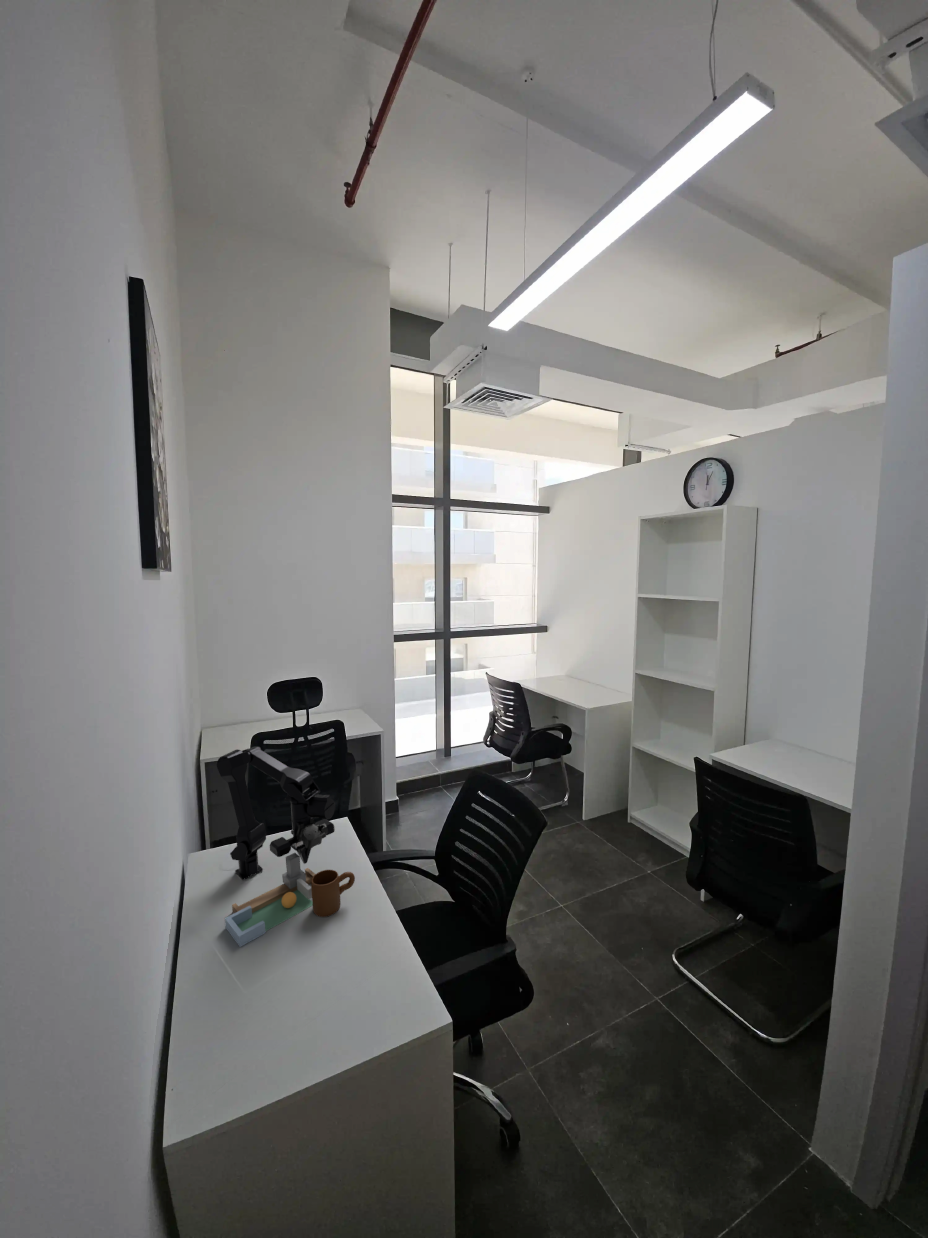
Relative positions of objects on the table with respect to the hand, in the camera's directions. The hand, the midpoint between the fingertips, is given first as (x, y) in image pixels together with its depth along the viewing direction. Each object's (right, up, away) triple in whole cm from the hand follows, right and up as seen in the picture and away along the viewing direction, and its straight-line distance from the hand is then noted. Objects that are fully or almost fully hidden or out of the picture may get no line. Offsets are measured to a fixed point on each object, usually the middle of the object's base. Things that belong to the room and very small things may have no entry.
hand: (305, 863), depth 149 cm
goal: (-9, -8, -20) cm, 23 cm away
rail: (-6, -7, -6) cm, 11 cm away
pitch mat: (-5, -7, -14) cm, 17 cm away
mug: (+12, -7, -11) cm, 18 cm away
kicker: (0, -5, -5) cm, 7 cm away
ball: (-1, -7, -11) cm, 13 cm away
